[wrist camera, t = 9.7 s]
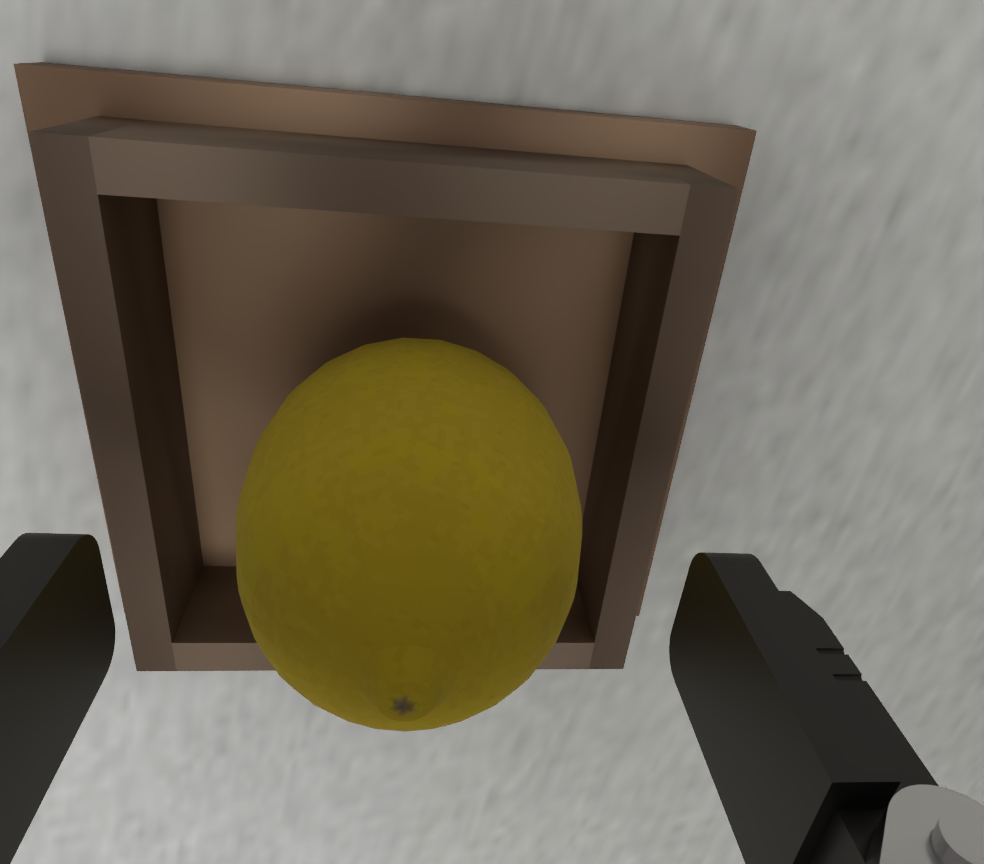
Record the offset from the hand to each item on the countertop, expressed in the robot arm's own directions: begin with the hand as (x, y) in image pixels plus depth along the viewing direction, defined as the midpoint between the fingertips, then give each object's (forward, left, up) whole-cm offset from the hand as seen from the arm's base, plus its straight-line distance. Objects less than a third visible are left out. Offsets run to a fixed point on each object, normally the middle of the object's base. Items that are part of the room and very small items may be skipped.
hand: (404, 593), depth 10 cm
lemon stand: (0, 0, -7) cm, 7 cm away
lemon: (0, 0, -7) cm, 7 cm away
